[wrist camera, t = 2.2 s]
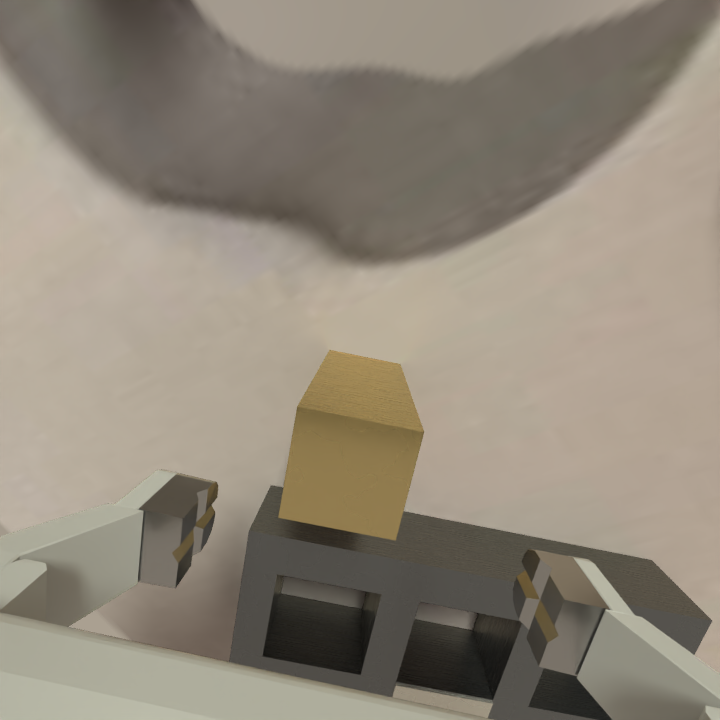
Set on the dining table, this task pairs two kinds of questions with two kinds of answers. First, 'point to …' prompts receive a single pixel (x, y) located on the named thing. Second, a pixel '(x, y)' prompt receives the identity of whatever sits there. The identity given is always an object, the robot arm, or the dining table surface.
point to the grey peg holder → (419, 638)
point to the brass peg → (353, 448)
